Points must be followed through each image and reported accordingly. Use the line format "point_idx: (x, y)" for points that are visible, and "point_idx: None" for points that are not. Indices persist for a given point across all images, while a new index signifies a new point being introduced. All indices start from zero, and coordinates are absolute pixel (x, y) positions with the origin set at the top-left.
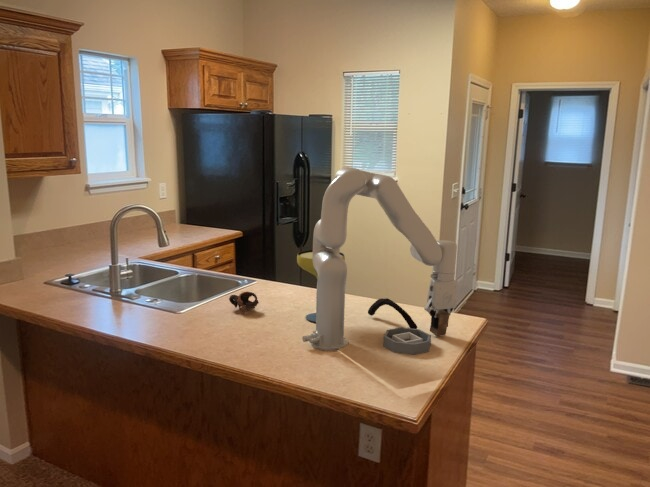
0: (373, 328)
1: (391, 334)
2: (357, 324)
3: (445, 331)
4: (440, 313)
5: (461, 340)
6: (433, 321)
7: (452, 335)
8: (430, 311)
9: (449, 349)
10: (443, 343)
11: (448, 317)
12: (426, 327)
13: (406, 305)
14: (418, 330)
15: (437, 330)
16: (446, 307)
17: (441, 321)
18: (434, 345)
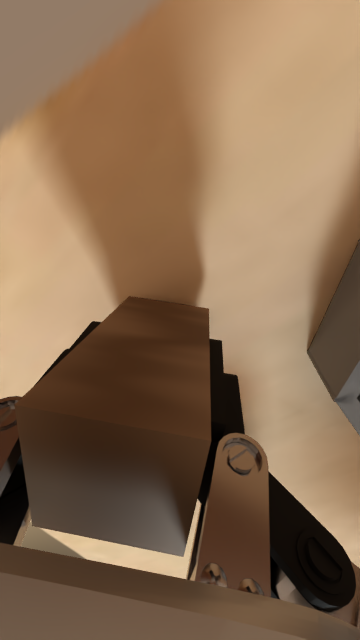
0: (335, 506)
1: None
2: (338, 540)
3: (128, 304)
4: (159, 477)
5: (70, 170)
6: (238, 410)
7: (72, 281)
8: (350, 587)
9: (343, 39)
10: (247, 205)
11: (60, 372)
12: None
13: (52, 535)
14: (357, 392)
15: (207, 328)
16: (11, 635)
17: (179, 366)
18: (343, 215)
